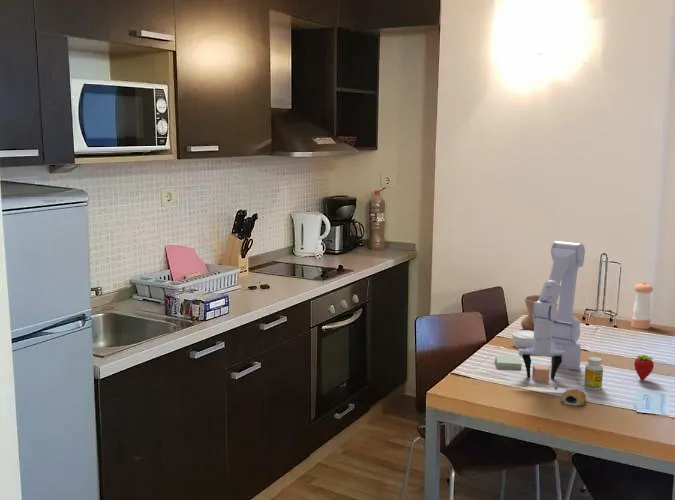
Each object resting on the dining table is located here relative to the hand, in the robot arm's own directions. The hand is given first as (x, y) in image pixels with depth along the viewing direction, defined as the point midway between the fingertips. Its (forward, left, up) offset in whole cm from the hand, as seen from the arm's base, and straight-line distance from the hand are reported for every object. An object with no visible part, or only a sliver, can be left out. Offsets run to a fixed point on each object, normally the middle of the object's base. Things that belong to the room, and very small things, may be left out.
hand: (540, 377), depth 228 cm
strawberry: (-34, -6, -2) cm, 35 cm away
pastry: (-7, +16, -2) cm, 18 cm away
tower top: (+9, -12, 0) cm, 15 cm away
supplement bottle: (-16, +3, -2) cm, 16 cm away
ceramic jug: (-9, -59, -2) cm, 60 cm away
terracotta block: (0, 0, -2) cm, 2 cm away
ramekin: (-1, -37, -2) cm, 37 cm away
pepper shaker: (-53, -73, -2) cm, 90 cm away
